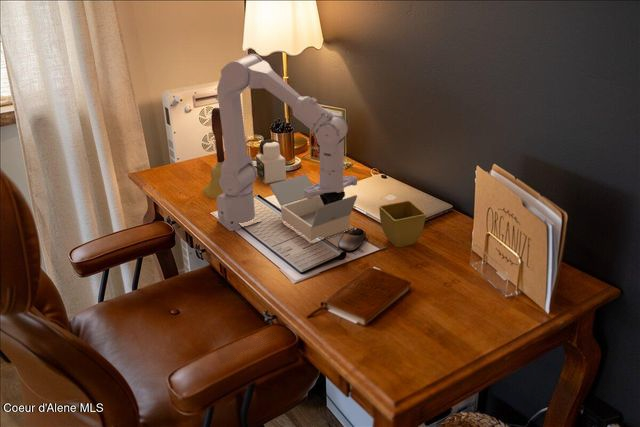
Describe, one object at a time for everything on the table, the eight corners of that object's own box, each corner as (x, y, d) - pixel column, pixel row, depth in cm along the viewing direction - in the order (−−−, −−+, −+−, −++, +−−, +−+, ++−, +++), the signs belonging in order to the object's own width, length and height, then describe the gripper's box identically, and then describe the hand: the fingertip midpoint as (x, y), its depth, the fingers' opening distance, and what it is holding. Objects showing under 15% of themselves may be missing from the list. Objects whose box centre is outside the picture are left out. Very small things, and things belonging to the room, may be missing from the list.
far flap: (269, 184, 158) (269, 185, 159) (281, 205, 156) (280, 206, 156) (305, 174, 164) (305, 174, 164) (317, 194, 162) (316, 194, 162)
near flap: (311, 226, 145) (312, 227, 145) (317, 207, 141) (318, 208, 140) (349, 213, 151) (350, 214, 151) (356, 195, 146) (357, 196, 146)
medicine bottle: (256, 175, 186) (254, 139, 181) (278, 171, 189) (276, 136, 184) (264, 184, 181) (262, 147, 175) (286, 179, 183) (284, 143, 178)
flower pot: (377, 237, 151) (378, 205, 147) (407, 230, 153) (409, 199, 149) (392, 253, 143) (394, 220, 139) (424, 246, 146) (427, 214, 142)
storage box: (311, 244, 148) (310, 226, 146) (281, 222, 158) (281, 206, 156) (349, 230, 154) (349, 213, 152) (318, 210, 164) (318, 194, 162)
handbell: (195, 188, 179) (186, 107, 167) (231, 177, 185) (224, 99, 174) (215, 202, 170) (206, 118, 158) (252, 191, 176) (246, 109, 165)
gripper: (316, 180, 135) (316, 231, 142) (365, 165, 143) (363, 215, 149) (299, 169, 140) (300, 220, 147) (347, 156, 148) (346, 204, 154)
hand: (330, 216), depth 148 cm, fingers closed, pressing on near flap
